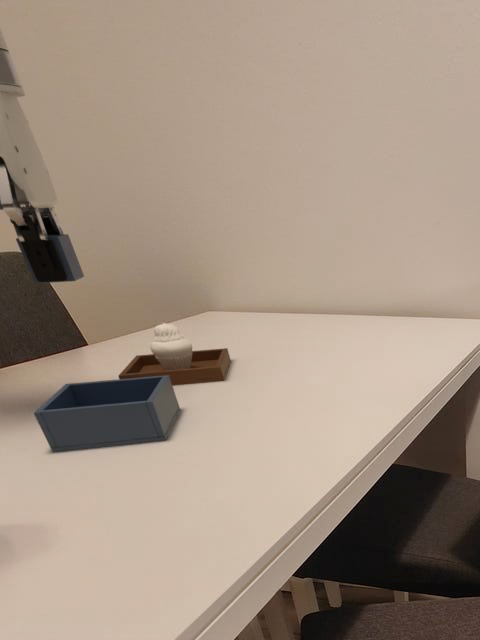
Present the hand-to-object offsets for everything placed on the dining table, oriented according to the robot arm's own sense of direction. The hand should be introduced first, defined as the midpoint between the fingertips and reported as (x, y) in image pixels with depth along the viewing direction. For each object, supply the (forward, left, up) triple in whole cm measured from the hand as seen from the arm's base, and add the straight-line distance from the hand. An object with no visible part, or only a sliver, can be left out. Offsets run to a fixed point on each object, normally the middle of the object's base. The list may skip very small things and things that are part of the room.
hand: (58, 276), depth 73 cm
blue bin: (+4, -12, -16) cm, 20 cm away
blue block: (0, 0, 0) cm, 0 cm away
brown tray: (+7, +15, -16) cm, 23 cm away
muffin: (+7, +15, -15) cm, 23 cm away
